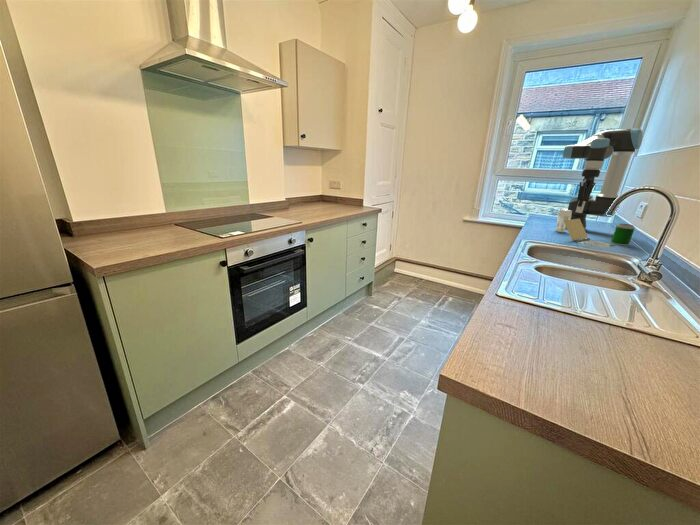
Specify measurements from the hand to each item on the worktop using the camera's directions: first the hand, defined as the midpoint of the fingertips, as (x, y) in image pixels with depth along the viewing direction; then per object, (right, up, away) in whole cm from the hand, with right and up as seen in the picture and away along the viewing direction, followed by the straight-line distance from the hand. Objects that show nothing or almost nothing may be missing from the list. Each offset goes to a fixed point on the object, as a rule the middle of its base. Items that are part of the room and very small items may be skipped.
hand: (578, 212), depth 162 cm
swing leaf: (0, -11, +2) cm, 11 cm away
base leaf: (+5, -19, -5) cm, 20 cm away
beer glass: (+8, -9, +25) cm, 28 cm away
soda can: (+21, -19, -3) cm, 28 cm away
